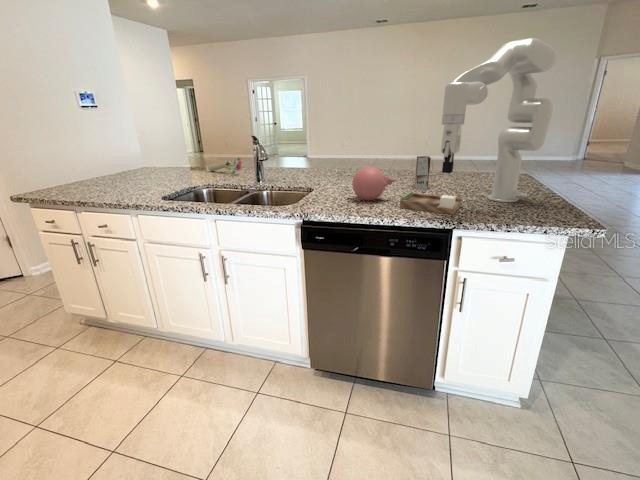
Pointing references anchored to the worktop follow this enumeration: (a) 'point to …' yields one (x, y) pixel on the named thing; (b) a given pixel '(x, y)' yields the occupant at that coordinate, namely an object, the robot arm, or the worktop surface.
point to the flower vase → (225, 166)
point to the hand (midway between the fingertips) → (447, 172)
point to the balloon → (370, 183)
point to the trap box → (427, 203)
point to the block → (447, 201)
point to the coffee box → (422, 172)
